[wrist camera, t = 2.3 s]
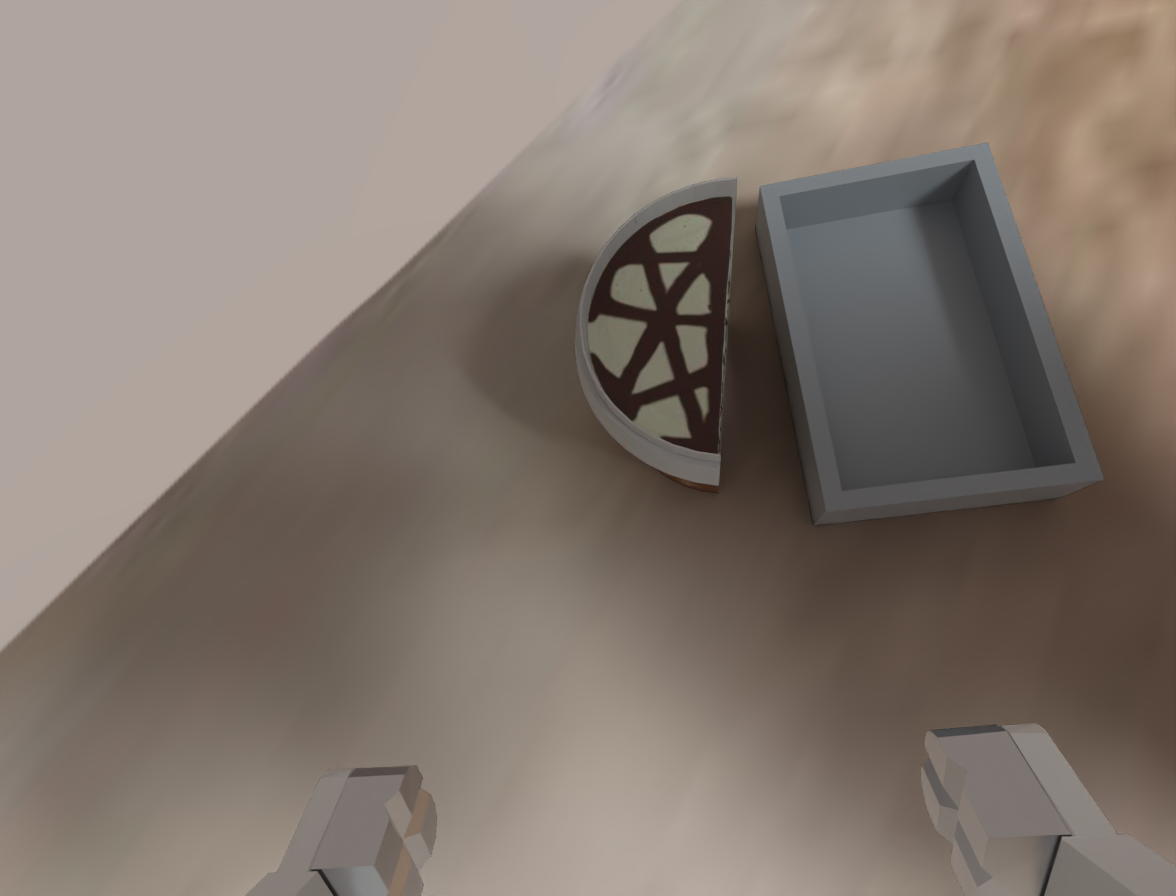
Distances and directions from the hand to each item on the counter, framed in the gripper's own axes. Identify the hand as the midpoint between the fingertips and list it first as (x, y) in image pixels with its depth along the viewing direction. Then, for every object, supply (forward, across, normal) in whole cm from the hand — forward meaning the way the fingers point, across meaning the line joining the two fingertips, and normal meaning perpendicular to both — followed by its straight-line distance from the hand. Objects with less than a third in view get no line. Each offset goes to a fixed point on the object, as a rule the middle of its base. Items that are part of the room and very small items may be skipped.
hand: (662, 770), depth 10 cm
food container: (+24, -1, +4) cm, 24 cm away
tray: (+24, -12, +3) cm, 27 cm away
